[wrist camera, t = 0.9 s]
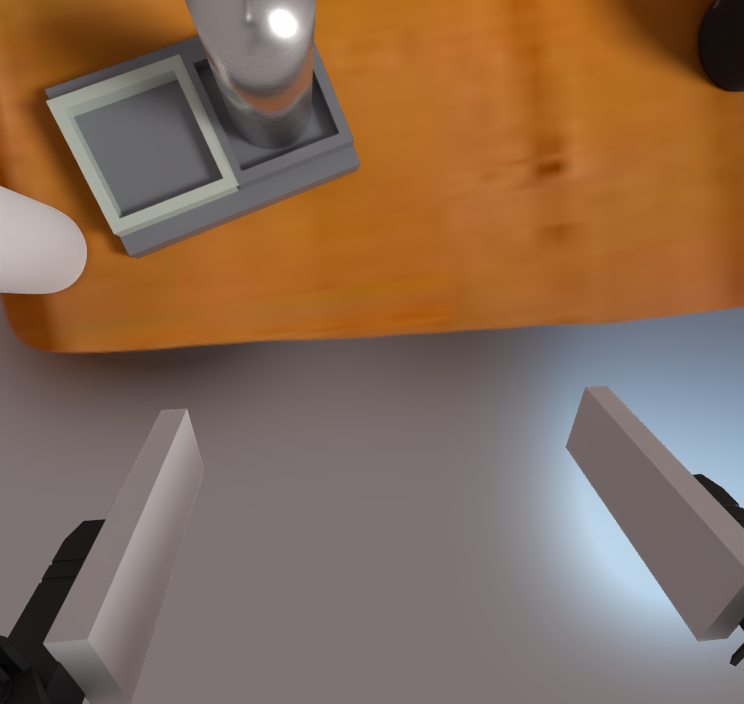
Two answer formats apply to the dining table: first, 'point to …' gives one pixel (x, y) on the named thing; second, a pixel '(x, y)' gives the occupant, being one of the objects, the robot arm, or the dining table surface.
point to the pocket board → (186, 147)
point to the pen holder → (724, 43)
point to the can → (37, 246)
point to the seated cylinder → (261, 64)
